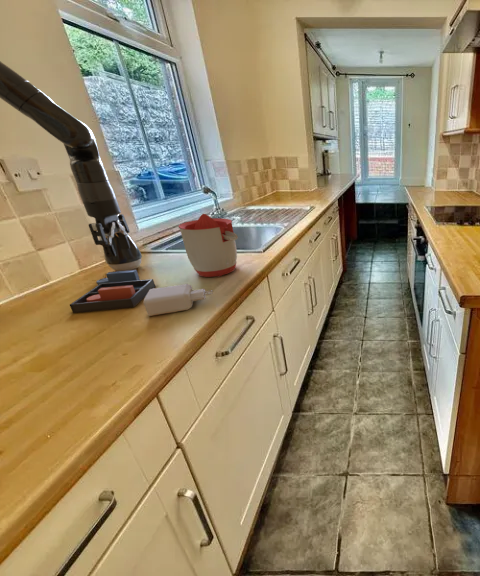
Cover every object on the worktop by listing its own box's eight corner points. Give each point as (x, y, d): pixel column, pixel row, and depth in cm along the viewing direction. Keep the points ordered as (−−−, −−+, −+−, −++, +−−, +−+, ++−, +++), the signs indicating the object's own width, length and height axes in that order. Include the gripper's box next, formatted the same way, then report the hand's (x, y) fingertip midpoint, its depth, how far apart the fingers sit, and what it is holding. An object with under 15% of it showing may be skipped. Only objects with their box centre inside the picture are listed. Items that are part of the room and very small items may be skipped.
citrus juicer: (228, 282, 102) (214, 219, 94) (180, 278, 105) (163, 217, 96) (254, 265, 116) (244, 210, 108) (212, 262, 119) (199, 208, 110)
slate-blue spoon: (136, 284, 100) (132, 273, 98) (95, 288, 98) (90, 276, 96) (141, 280, 103) (137, 268, 102) (102, 283, 101) (97, 271, 99)
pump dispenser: (143, 262, 120) (130, 222, 113) (146, 269, 112) (132, 227, 106) (109, 268, 114) (92, 226, 107) (110, 276, 106) (93, 232, 100)
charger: (213, 306, 86) (148, 318, 81) (215, 293, 94) (155, 303, 88) (209, 291, 84) (142, 301, 79) (211, 278, 92) (150, 287, 86)
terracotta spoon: (132, 302, 87) (128, 289, 86) (85, 306, 85) (79, 293, 83) (139, 296, 91) (134, 283, 89) (93, 300, 88) (88, 287, 87)
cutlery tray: (73, 313, 83) (69, 304, 82) (103, 291, 96) (100, 283, 95) (133, 307, 86) (130, 299, 85) (155, 286, 99) (153, 279, 98)
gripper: (98, 195, 96) (117, 247, 103) (67, 203, 83) (91, 261, 90) (126, 194, 97) (143, 245, 104) (100, 201, 85) (121, 259, 91)
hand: (119, 252), depth 97 cm, fingers open, 8 cm apart
